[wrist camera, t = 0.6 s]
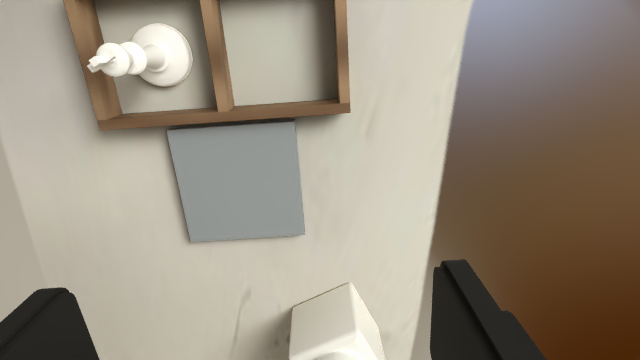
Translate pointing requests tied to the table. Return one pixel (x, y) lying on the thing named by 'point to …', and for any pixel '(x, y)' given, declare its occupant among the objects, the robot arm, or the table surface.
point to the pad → (239, 180)
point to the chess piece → (147, 56)
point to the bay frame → (109, 107)
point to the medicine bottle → (334, 328)
